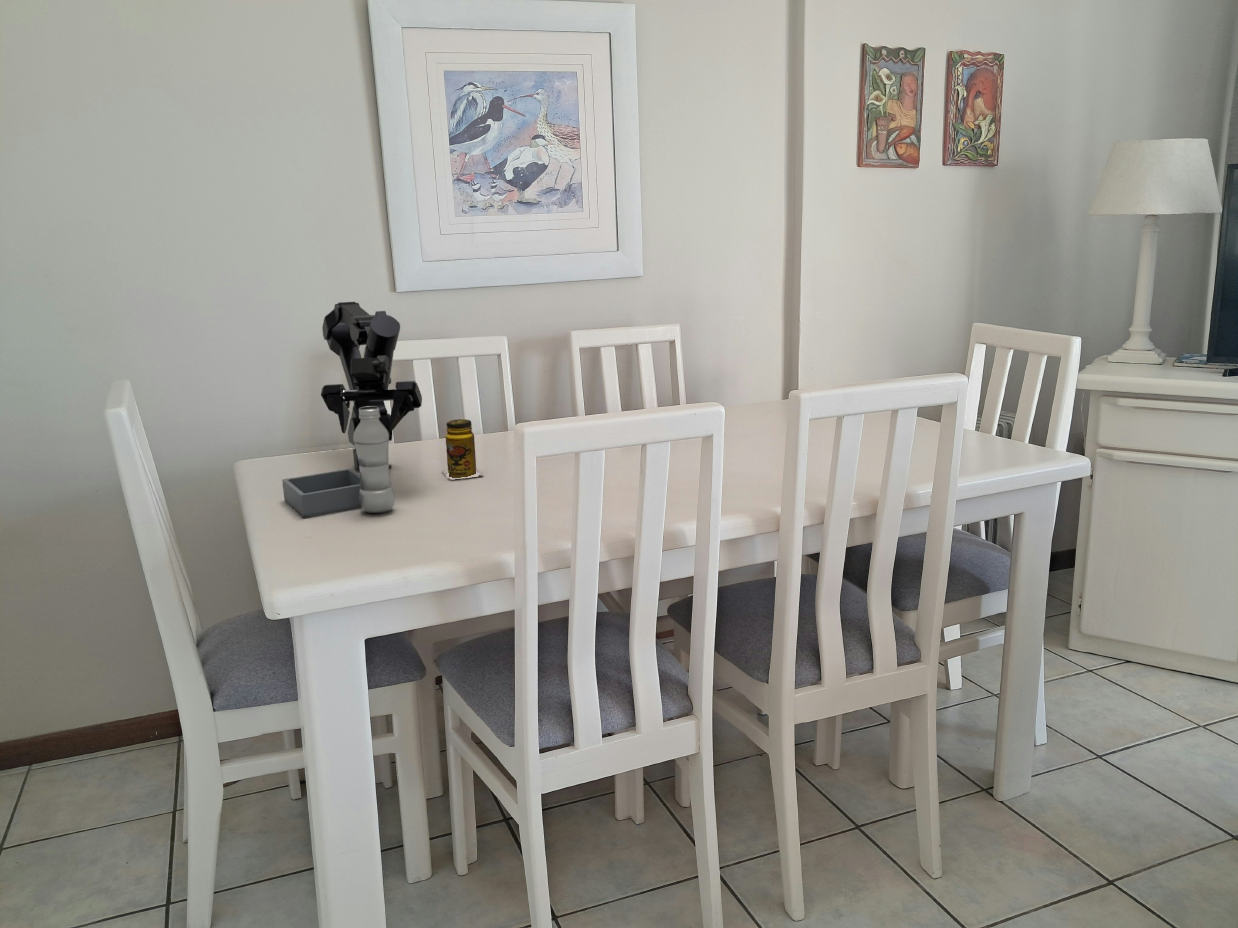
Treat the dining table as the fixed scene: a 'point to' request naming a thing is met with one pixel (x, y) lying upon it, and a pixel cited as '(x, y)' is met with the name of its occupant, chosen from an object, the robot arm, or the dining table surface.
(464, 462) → the condiment
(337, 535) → the dining table surface
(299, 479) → the tote
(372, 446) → the plastic bottle
